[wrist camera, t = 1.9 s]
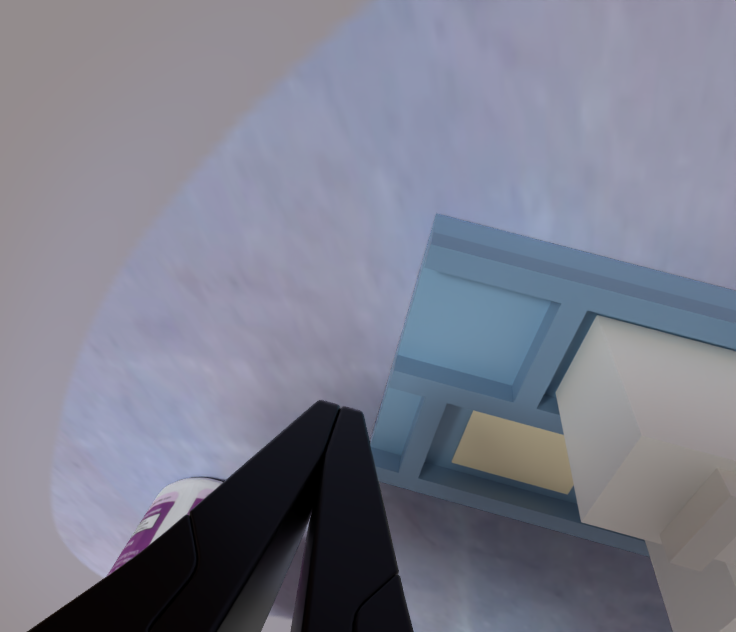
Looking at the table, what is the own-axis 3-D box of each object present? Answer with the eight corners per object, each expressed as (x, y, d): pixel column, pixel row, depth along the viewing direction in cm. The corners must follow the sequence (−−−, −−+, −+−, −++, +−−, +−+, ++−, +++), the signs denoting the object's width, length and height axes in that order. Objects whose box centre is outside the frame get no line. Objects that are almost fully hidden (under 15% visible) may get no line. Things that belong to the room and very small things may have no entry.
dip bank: (1039, 369, 13) (1120, 424, 11) (818, 555, 17) (853, 614, 15) (436, 213, 13) (430, 243, 12) (372, 432, 18) (362, 476, 16)
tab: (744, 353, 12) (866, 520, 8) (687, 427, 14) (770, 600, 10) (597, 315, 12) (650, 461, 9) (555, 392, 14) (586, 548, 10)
